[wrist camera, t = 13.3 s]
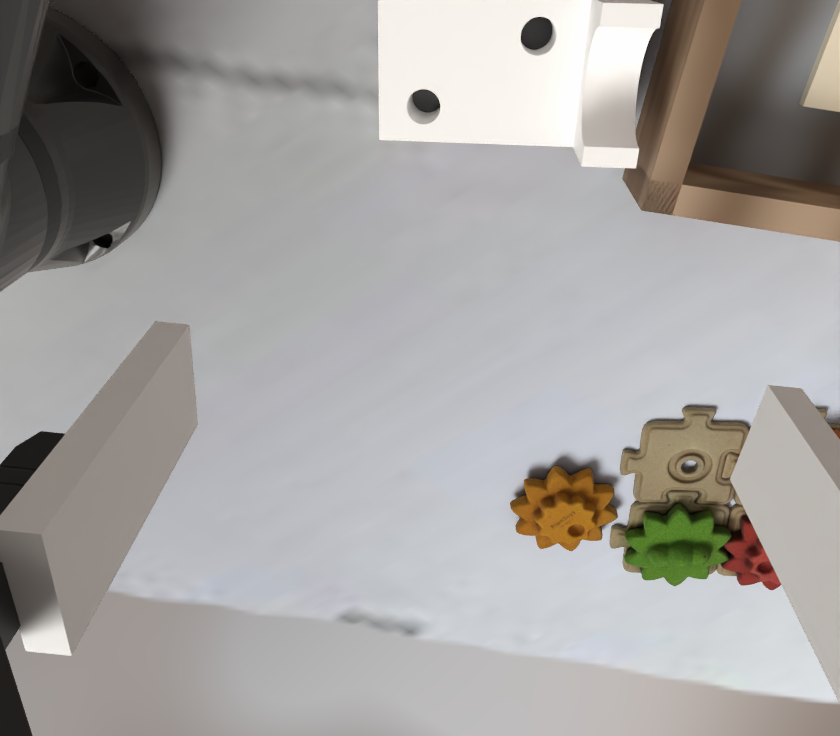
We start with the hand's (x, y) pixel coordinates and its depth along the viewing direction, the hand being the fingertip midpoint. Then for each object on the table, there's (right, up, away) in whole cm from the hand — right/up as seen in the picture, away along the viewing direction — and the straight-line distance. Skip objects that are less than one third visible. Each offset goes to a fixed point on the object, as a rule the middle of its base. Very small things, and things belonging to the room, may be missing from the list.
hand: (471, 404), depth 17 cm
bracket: (+3, +18, +23) cm, 30 cm away
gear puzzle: (+21, -8, +37) cm, 44 cm away
